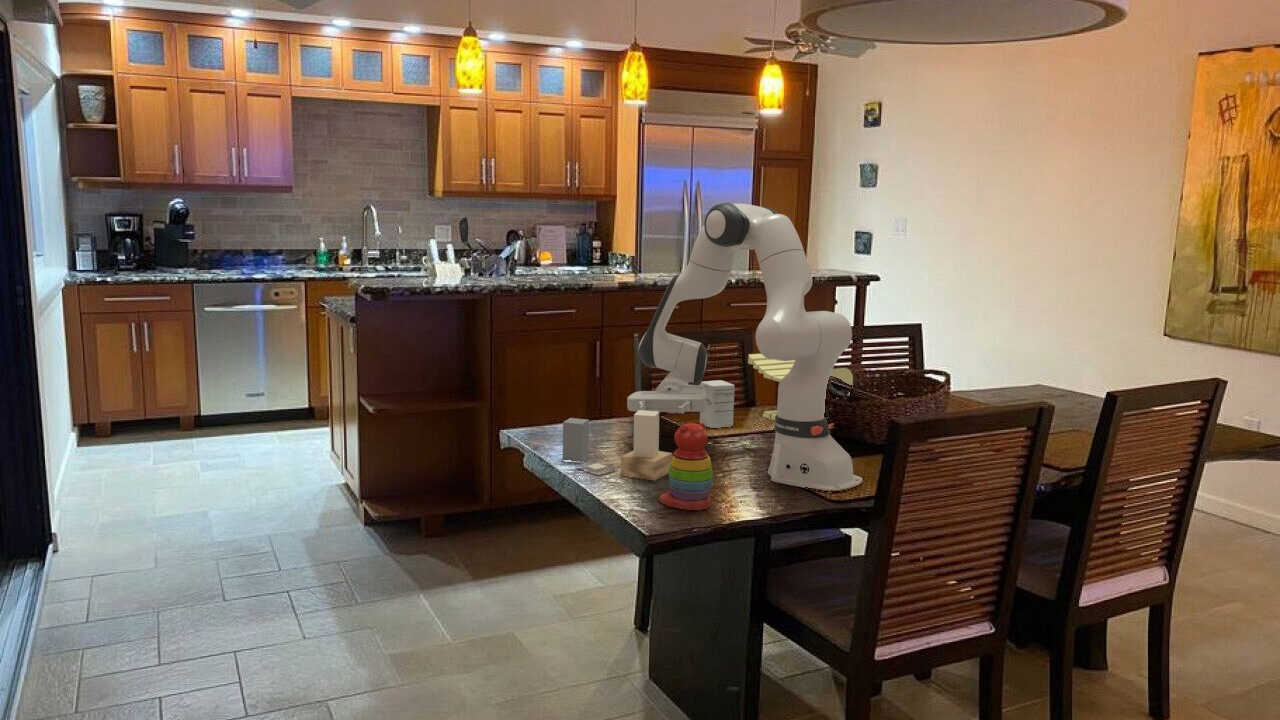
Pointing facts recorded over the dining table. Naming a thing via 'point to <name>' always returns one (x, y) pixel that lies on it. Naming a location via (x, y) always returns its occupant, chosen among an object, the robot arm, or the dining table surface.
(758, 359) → the slatted curved stool
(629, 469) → the oak pedestal
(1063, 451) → the dining table surface
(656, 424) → the cream block
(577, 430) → the grey block
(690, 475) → the stacking bear
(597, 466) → the card
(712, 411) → the supplement box
